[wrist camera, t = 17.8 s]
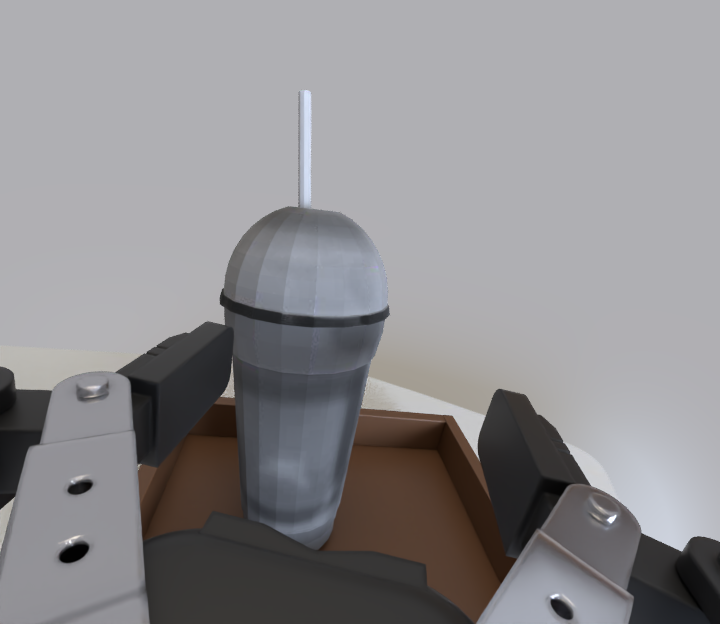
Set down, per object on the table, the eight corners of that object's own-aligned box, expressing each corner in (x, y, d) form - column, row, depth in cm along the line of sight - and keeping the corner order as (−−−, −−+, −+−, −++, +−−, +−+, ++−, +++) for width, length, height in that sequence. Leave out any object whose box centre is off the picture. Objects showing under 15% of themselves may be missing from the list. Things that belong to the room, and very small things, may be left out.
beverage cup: (270, 626, 14) (313, 21, 10) (186, 513, 19) (188, 69, 14) (389, 527, 20) (455, 105, 15) (300, 458, 24) (330, 120, 20)
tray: (31, 752, 11) (20, 691, 10) (177, 433, 25) (178, 393, 24) (565, 704, 15) (596, 656, 14) (441, 449, 29) (452, 415, 28)
